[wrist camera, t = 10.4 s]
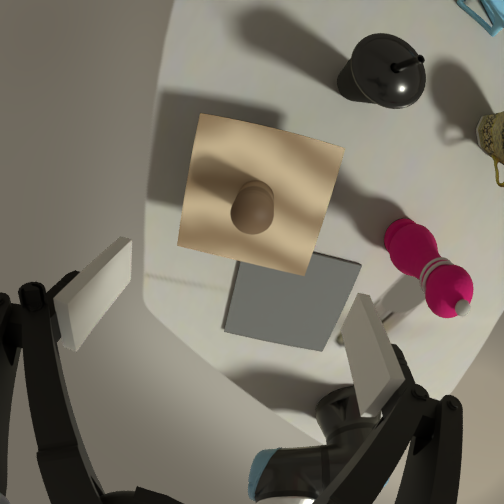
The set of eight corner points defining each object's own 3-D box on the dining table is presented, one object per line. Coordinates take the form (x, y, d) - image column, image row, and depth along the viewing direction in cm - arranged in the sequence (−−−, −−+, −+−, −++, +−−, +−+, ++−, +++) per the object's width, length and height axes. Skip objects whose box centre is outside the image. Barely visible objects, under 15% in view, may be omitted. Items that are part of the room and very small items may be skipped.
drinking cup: (390, 97, 34) (475, 88, 16) (346, 120, 36) (407, 123, 18) (361, 50, 31) (427, 4, 13) (315, 73, 34) (352, 31, 15)
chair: (486, 42, 27) (532, 34, 16) (455, 2, 25) (496, -17, 14) (503, 25, 24) (546, 17, 13) (474, -13, 22) (513, -30, 11)
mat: (321, 349, 52) (322, 351, 51) (224, 329, 52) (224, 331, 51) (360, 264, 44) (361, 266, 44) (246, 236, 44) (246, 237, 43)
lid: (303, 271, 38) (308, 303, 31) (179, 241, 37) (160, 268, 31) (342, 147, 31) (360, 154, 25) (202, 113, 31) (184, 111, 24)
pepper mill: (379, 218, 41) (442, 289, 23) (422, 212, 40) (498, 275, 22) (381, 262, 44) (432, 347, 26) (421, 254, 43) (484, 331, 25)
